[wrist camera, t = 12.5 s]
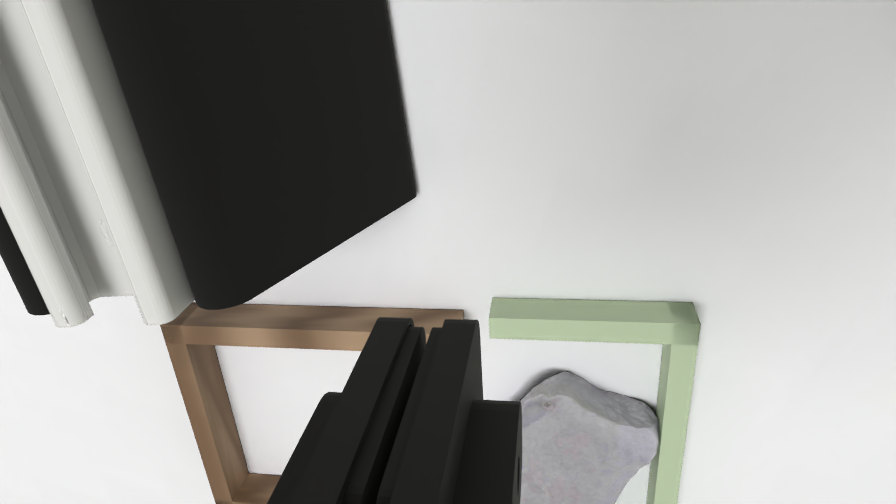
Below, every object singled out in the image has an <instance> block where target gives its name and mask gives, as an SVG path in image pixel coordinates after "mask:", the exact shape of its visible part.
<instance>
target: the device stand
mask: <svg viewBox="0 0 896 504" xmlns="http://www.w3.org/2000/svg"><path fill="white" fill-rule="evenodd" d="M415 197H416V189H415V182H414V176H413V170H412V163H411V157H410V151H409V145H408V138H407V132H406V126H405V119H404V113H403V107H402V100H401V94H400V88H399V81H398V75H397V69H396V63H395V56H394V50H393V44H392V37H391V31H390V25H389V18H388V12H387V6H386V0H0V255H1V257H2V259H3V261H4V263H5V265H6V267H7V269H8V271H9V273H10V276H11V278H12V280H13V282H14V284H15V286H16V288H17V290H18V292H19V294H20V296H21V298H22V300H23V303H24V305H25V307H26V309H27V311H28V313H30V314H32V315H48V314H51V316H52V319H53V321H54V323H55V325H56V327H59V328H61V327H73V326H76V325H79V324H81V323H83V322H85V321H87V320H88V319H89V318H90V317H91V316H93V315H94V314H93V312H92V309H91V307H90V305H89V302H90V301H91V300H93V299H96V298H99V297H111V296H134V298H135V300H136V303H137V305H138V308H139V310H140V313H141V315H142V318H143V321H144V323H145V324H146V325H162V324H165V323H168V322H170V321H172V320H174V319H175V318H176V317H177V316H179V315H180V314H181V313H182V312H183V311H184V310H185V309H186V308H187V307H188V306H189V305H190V304H191V303H192V302H193V301H194V300H195V301H196V304H197V306H198V307H200V308H202V309H206V310H220V309H226V308H231V307H234V306H237V305H240V304H243V303H245V302H247V301H249V300H251V299H252V298H254V297H256V296H257V295H259V294H261V293H262V292H264V291H265V290H267V289H269V288H270V287H272V286H273V285H275V284H277V283H278V282H280V281H281V280H283V279H285V278H286V277H288V276H290V275H291V274H293V273H294V272H296V271H298V270H299V269H301V268H302V267H304V266H306V265H307V264H309V263H311V262H312V261H314V260H315V259H317V258H319V257H320V256H322V255H323V254H325V253H327V252H328V251H330V250H331V249H333V248H335V247H336V246H338V245H340V244H341V243H343V242H344V241H346V240H348V239H349V238H351V237H352V236H354V235H356V234H357V233H359V232H361V231H362V230H364V229H365V228H367V227H369V226H370V225H372V224H373V223H375V222H377V221H378V220H380V219H381V218H383V217H385V216H386V215H388V214H390V213H391V212H393V211H394V210H396V209H398V208H399V207H401V206H402V205H404V204H406V203H407V202H409V201H411V200H412V199H414V198H415Z"/></svg>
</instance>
